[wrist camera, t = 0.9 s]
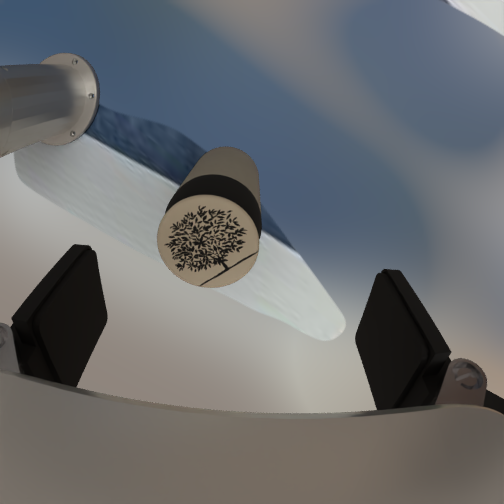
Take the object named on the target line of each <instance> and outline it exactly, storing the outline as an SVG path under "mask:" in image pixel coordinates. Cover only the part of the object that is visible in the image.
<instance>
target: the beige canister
mask: <svg viewBox="0 0 504 504" xmlns="http://www.w3.org/2000/svg"><path fill="white" fill-rule="evenodd" d="M261 229H262V223H261V206H260V189H259V174H258V170H257V167H256V165H255V163H254V161H253V160H252V159H251V157H250V156H249V155H247V154H246V153H245V152H243V151H241V150H239V149H237V148H233V147H219V148H215V149H212V150H210V151H208V152H207V153H205V154H204V155H203V156H202V157H201V158H200V159H199V161H198V162H197V164H196V165H195V166H194V168H193V169H192V170H191V172H190V173H189V175H188V176H187V177H186V179H185V180H184V182H183V183H182V184H181V186H180V187H179V189H178V190H177V192H176V193H175V194H174V196H173V197H172V199H171V200H170V202H169V204H168V206H167V209H166V212H165V215H164V217H163V218H162V220H161V222H160V225H159V228H158V234H157V243H158V249H159V252H160V255H161V258H162V260H163V261H164V263H165V264H166V266H167V267H168V268H169V270H171V272H172V273H174V274H175V275H176V276H177V277H179V278H180V279H182V280H183V281H185V282H187V283H190V284H192V285H196V286H200V287H207V288H215V287H222V286H226V285H229V284H232V283H234V282H236V281H238V280H239V279H241V278H242V277H243V276H245V275H246V274H247V273H248V272H249V270H250V269H251V268H252V266H253V265H254V263H255V261H256V258H257V255H258V251H259V239H260V236H261Z"/></svg>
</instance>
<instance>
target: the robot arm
mask: <svg viewBox="0 0 504 504" xmlns="http://www.w3.org/2000/svg"><path fill="white" fill-rule="evenodd" d="M77 61H78V63H77ZM93 94H94V97H93ZM99 98H100V88H99V82H98V78H97V75H96V73H95V70H94V69H93V67H92V66H91V64H90V63H89V62H88V61H87V60H85V59H84V58H83V57H81V56H79V55H76V54H71V53H59V54H55V55H52V56H50V57H48V58H46V59H45V60H43V61H42V62H41V63H40V64H28V65H7V66H0V157H3V156H5V155H7V154H9V153H12V152H14V151H17V150H19V149H22V148H24V147H27V146H29V145H32V144H34V143H37V142H39V141H41V142H43V143H45V144H48V145H55V146H58V145H64V144H67V143H69V142H72V141H73V140H75V139H77V138H78V137H80V136H81V135H82V134H83V133H84V132H85V131H86V130H87V129H88V128H89V126H90V124H91V123H92V121H93V120H94V117H95V115H96V112H97V109H98V105H99ZM12 321H13V324H12V326H11V327H9V326H8V325H7V324H4V323H0V504H504V399H503V398H501V397H499V396H497V395H495V394H493V393H492V392H490V391H488V390H487V389H486V387H487V378H486V375H485V373H484V372H483V370H482V369H481V368H480V367H479V366H478V365H477V364H476V363H474V362H473V361H471V360H468V359H463V358H458V359H454V360H453V361H451V360H450V358H449V355H450V354H451V351H450V349H449V347H448V345H447V344H446V342H445V340H444V339H443V337H442V335H441V333H440V332H439V330H438V328H437V327H436V325H435V323H434V322H433V320H432V319H431V317H430V315H429V314H428V313H427V311H426V309H425V307H424V306H423V304H422V303H421V301H420V300H419V298H418V297H417V295H416V293H415V292H414V290H413V289H412V287H411V286H410V285H409V283H408V281H407V280H406V278H405V277H404V275H403V274H402V272H401V271H400V270H390V269H384V270H382V272H381V273H378V274H377V275H376V278H375V281H374V284H373V287H372V290H371V293H370V296H369V299H368V302H367V304H366V307H365V310H364V313H363V316H362V318H361V321H360V324H359V326H358V329H357V332H356V336H355V341H356V345H357V348H358V351H359V354H360V357H361V360H362V364H363V367H364V369H365V373H366V376H367V379H368V382H369V385H370V388H371V392H372V395H373V398H374V401H375V405H376V408H377V410H374V411H360V412H342V413H312V414H311V413H301V414H299V413H293V414H291V413H254V412H253V413H252V412H236V411H222V410H210V409H199V408H190V407H182V406H174V405H167V404H159V403H153V402H146V401H140V400H134V399H128V398H123V397H118V396H113V395H107V394H103V393H98V392H94V391H89V390H85V389H80V388H76V387H77V385H78V382H79V380H80V378H81V376H82V373H83V371H84V369H85V367H86V365H87V363H88V360H89V358H90V356H91V354H92V352H93V350H94V348H95V345H96V344H97V341H98V339H99V337H100V335H101V333H102V331H103V329H104V327H105V325H106V323H107V310H106V305H105V300H104V295H103V290H102V285H101V279H100V274H99V269H98V262H97V255H96V252H95V251H94V250H92V248H91V247H90V246H89V245H77V244H74V245H73V246H72V247H71V248H70V249H69V250H68V251H67V252H66V253H65V254H64V255H63V257H62V258H61V259H60V260H59V261H58V262H57V263H56V264H55V266H54V267H53V268H52V269H51V270H50V271H49V272H48V274H47V275H46V276H45V277H44V278H43V279H42V281H41V282H40V283H39V284H38V285H37V286H36V288H35V289H34V290H33V292H32V293H31V294H30V295H29V296H28V297H27V299H26V300H25V301H24V302H23V304H22V305H21V306H20V308H19V309H18V310H17V311H16V313H15V314H14V315H13V317H12Z"/></svg>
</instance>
